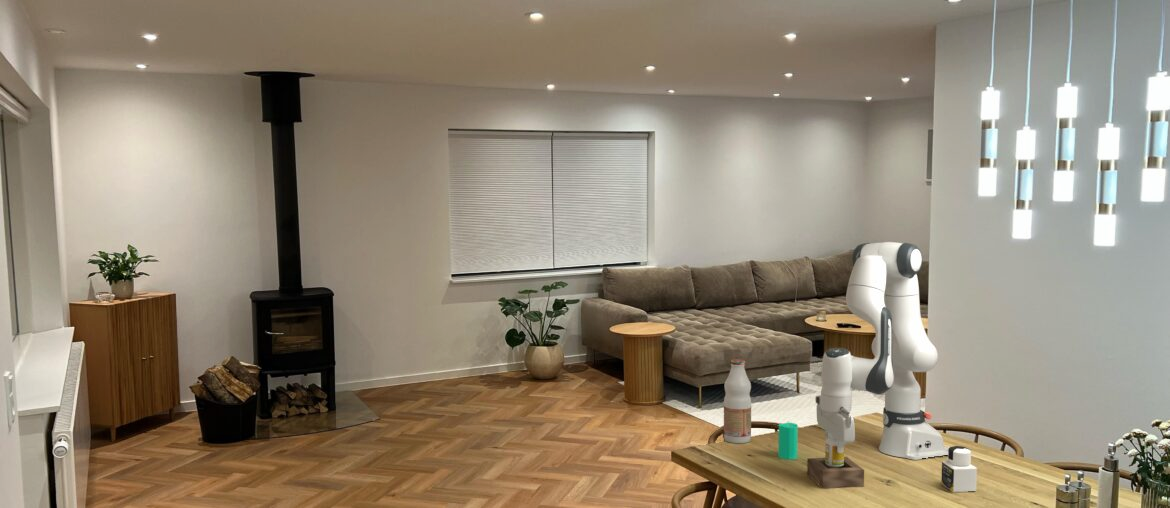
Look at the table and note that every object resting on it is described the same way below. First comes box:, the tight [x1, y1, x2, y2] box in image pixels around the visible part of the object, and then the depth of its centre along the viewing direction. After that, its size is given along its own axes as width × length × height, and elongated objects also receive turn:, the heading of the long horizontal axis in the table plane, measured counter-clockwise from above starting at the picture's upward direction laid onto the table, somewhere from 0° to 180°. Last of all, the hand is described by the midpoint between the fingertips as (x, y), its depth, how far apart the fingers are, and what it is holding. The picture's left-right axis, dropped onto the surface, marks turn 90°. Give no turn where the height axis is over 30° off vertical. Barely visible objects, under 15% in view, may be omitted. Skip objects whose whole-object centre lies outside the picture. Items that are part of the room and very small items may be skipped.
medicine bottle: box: [941, 445, 978, 493], centre depth 252 cm, size 7×7×12 cm
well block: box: [806, 456, 865, 490], centre depth 260 cm, size 12×12×5 cm
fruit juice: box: [723, 358, 752, 444], centre depth 301 cm, size 9×9×28 cm
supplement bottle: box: [824, 432, 845, 467], centre depth 259 cm, size 5×5×10 cm
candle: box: [777, 422, 798, 460], centre depth 283 cm, size 6×6×12 cm
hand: (835, 448), depth 259 cm, fingers closed on supplement bottle, 5 cm apart
